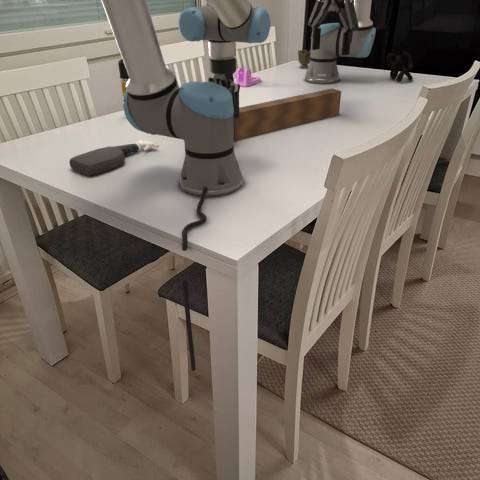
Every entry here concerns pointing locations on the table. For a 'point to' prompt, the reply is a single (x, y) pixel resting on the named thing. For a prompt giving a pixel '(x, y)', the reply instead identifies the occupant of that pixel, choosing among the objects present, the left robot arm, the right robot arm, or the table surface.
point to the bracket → (246, 77)
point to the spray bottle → (106, 157)
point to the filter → (123, 76)
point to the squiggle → (399, 66)
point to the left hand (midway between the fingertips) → (225, 138)
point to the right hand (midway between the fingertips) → (330, 52)
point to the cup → (304, 58)
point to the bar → (286, 112)
